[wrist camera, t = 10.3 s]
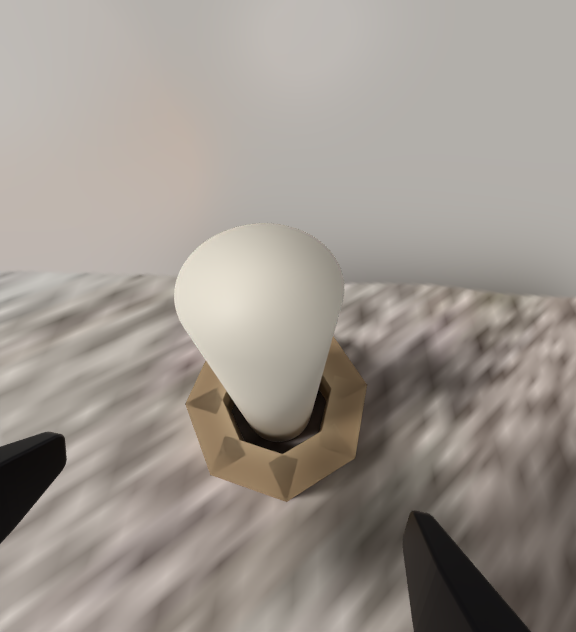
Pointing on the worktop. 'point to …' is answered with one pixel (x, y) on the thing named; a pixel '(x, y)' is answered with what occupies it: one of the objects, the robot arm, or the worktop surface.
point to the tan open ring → (301, 461)
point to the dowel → (263, 319)
